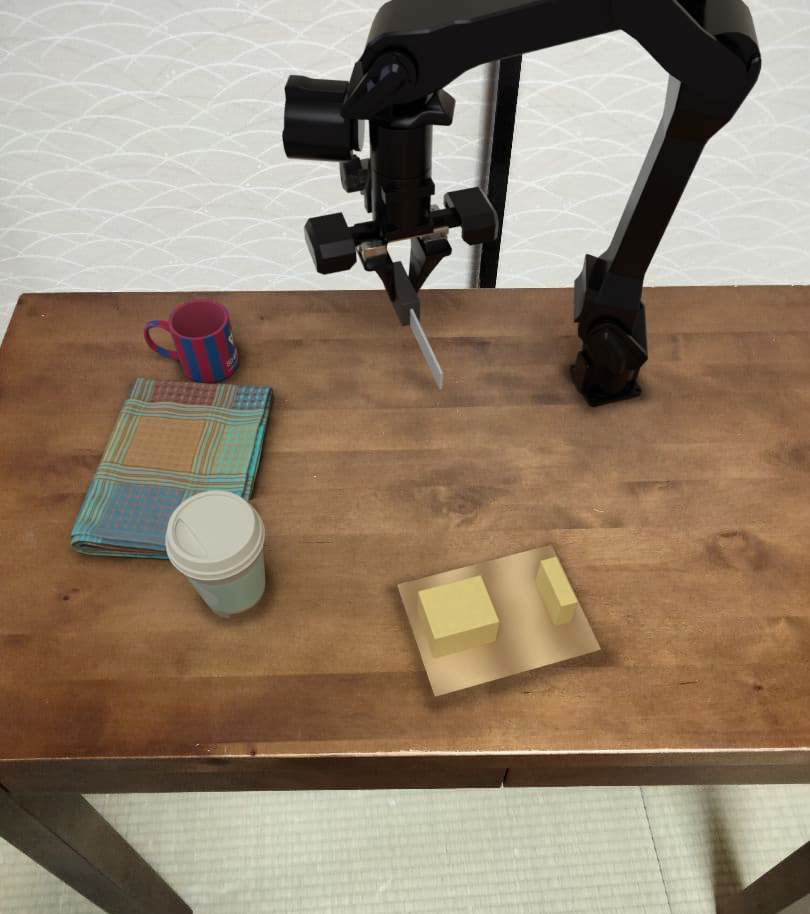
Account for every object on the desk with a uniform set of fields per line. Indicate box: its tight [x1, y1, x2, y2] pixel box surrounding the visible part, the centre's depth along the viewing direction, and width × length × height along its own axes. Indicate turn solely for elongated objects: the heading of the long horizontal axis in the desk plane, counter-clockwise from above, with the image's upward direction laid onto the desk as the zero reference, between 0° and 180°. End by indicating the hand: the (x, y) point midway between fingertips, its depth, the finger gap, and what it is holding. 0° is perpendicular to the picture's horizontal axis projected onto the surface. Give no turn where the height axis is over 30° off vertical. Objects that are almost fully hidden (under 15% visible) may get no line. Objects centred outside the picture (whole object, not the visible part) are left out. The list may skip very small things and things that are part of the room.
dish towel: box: [69, 377, 275, 560], centre depth 87 cm, size 17×23×2 cm
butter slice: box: [535, 556, 579, 627], centre depth 75 cm, size 2×5×4 cm, turn 16°
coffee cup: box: [165, 490, 266, 620], centre depth 74 cm, size 8×8×12 cm
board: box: [396, 544, 602, 697], centre depth 77 cm, size 16×12×2 cm
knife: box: [384, 260, 444, 391], centre depth 85 cm, size 2×17×3 cm, turn 17°
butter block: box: [418, 575, 499, 658], centre depth 74 cm, size 6×5×4 cm
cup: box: [143, 298, 240, 384], centre depth 94 cm, size 7×10×7 cm
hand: (401, 297), depth 88 cm, fingers closed on knife, 2 cm apart
